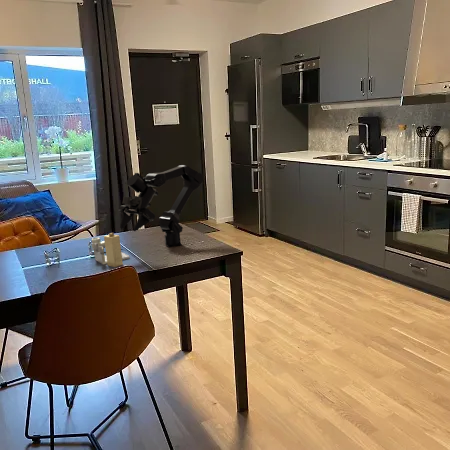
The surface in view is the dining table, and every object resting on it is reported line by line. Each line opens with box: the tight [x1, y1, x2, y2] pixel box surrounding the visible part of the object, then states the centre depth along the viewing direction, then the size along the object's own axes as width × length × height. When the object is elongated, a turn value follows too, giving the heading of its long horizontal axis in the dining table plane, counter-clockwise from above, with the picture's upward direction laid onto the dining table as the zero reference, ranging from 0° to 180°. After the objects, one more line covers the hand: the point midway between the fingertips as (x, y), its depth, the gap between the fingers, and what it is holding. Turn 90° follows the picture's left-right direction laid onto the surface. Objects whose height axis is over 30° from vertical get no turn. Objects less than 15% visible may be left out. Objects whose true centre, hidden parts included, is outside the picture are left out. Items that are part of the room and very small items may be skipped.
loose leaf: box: [103, 232, 124, 268], centre depth 196 cm, size 4×5×14 cm
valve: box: [91, 237, 105, 251], centre depth 218 cm, size 7×7×12 cm
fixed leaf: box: [93, 243, 130, 266], centre depth 204 cm, size 12×9×8 cm
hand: (127, 229), depth 201 cm, fingers open, 9 cm apart
